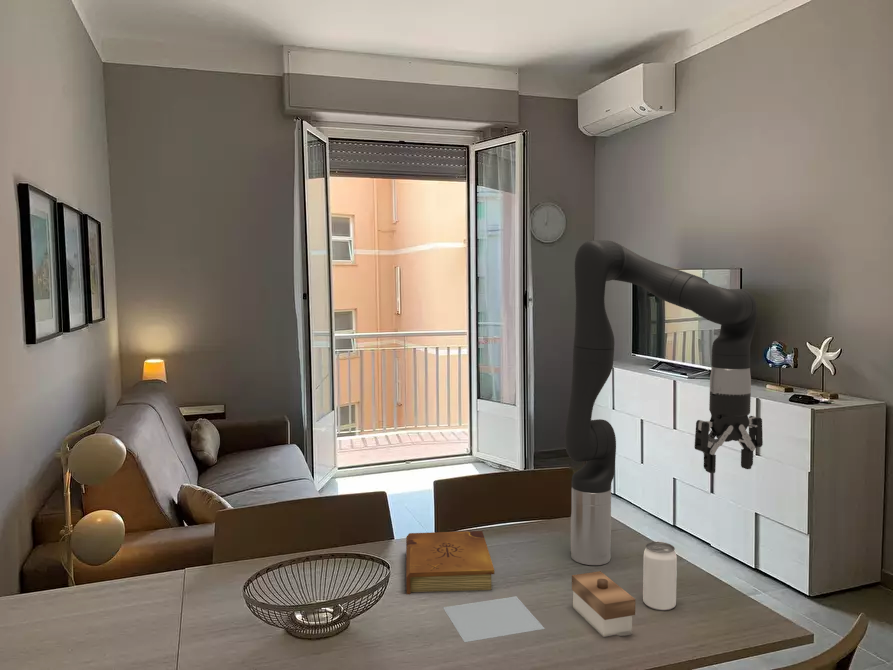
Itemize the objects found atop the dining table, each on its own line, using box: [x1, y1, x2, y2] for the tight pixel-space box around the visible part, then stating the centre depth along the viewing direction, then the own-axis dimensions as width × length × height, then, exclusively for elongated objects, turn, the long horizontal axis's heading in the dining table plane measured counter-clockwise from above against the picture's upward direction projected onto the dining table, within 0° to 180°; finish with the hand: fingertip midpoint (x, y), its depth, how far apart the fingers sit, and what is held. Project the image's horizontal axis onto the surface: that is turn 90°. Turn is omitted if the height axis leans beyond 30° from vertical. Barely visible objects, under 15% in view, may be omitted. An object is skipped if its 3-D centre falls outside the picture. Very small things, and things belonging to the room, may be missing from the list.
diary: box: [405, 530, 495, 595], centre depth 155 cm, size 23×19×6 cm
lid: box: [571, 570, 637, 620], centre depth 131 cm, size 13×6×4 cm, turn 17°
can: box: [642, 541, 678, 611], centre depth 139 cm, size 6×6×12 cm
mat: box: [442, 595, 546, 643], centre depth 133 cm, size 14×16×1 cm
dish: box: [572, 590, 633, 638], centre depth 132 cm, size 12×6×4 cm, turn 17°
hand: (728, 470), depth 136 cm, fingers open, 8 cm apart
